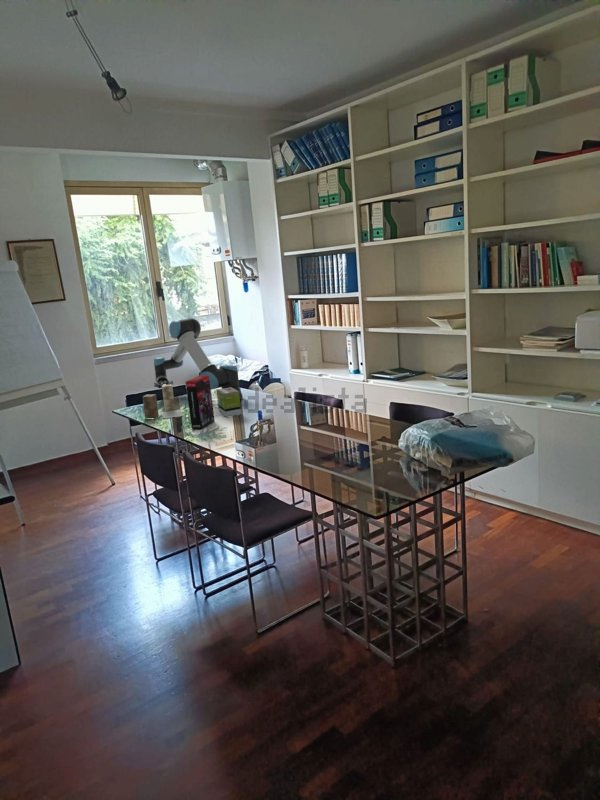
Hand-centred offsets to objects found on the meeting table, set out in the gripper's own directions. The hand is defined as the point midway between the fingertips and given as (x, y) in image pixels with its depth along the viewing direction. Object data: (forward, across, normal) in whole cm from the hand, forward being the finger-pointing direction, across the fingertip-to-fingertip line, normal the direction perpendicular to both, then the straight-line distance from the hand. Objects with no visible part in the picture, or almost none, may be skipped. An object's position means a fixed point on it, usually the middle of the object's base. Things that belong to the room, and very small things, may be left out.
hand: (165, 387), depth 382 cm
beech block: (+15, 0, -12) cm, 19 cm away
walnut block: (+30, +12, -12) cm, 34 cm away
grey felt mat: (+28, 0, -12) cm, 30 cm away
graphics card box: (+65, -14, -12) cm, 68 cm away
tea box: (+46, -33, -12) cm, 58 cm away
